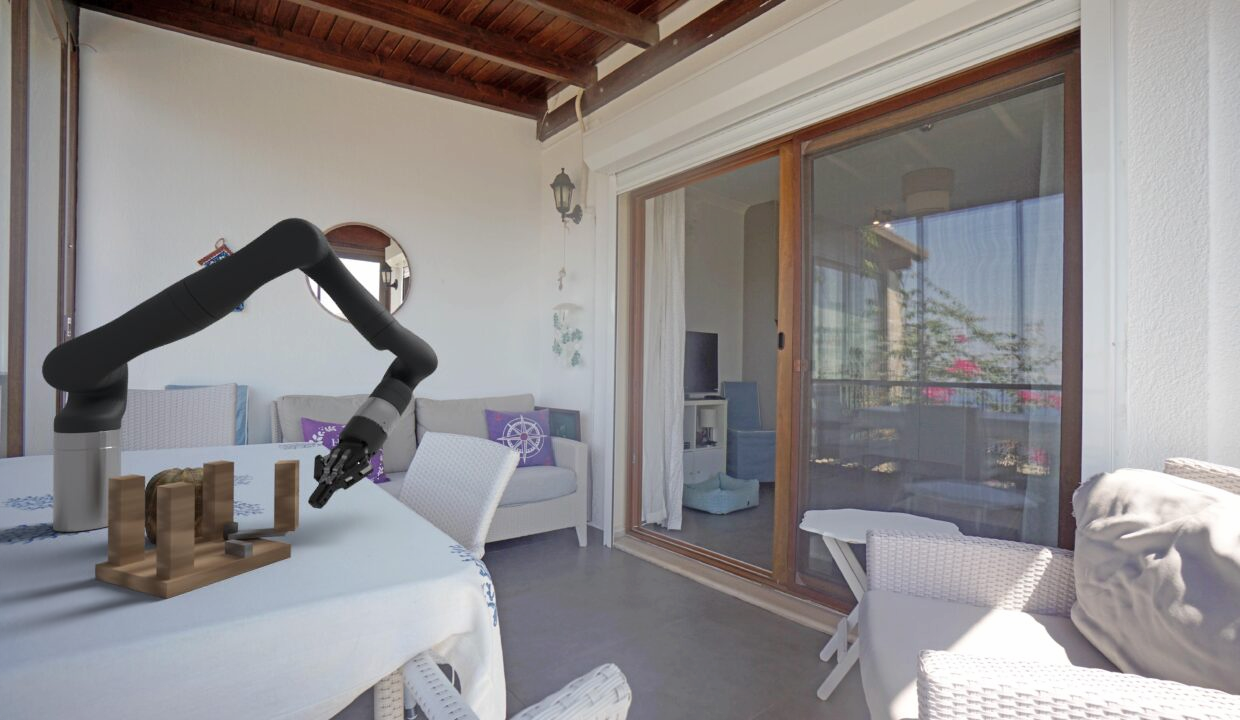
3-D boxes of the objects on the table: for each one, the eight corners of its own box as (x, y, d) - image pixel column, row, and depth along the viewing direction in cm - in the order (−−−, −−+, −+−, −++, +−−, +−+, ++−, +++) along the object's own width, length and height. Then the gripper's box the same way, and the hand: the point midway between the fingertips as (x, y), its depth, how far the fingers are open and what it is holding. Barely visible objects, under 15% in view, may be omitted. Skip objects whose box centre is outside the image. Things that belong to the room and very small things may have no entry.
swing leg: (220, 540, 96) (220, 465, 95) (226, 535, 98) (227, 462, 98) (294, 536, 99) (295, 463, 98) (298, 530, 101) (299, 459, 101)
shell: (180, 549, 98) (181, 475, 98) (124, 544, 100) (125, 471, 100) (235, 530, 109) (236, 463, 108) (184, 526, 111) (184, 460, 111)
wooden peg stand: (95, 578, 85) (95, 478, 85) (223, 542, 102) (223, 458, 102) (166, 598, 79) (167, 490, 79) (290, 556, 95) (291, 467, 95)
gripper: (333, 412, 116) (273, 489, 104) (387, 416, 110) (329, 498, 99) (355, 436, 120) (299, 513, 109) (407, 441, 115) (355, 522, 104)
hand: (314, 505), depth 104 cm, fingers closed
